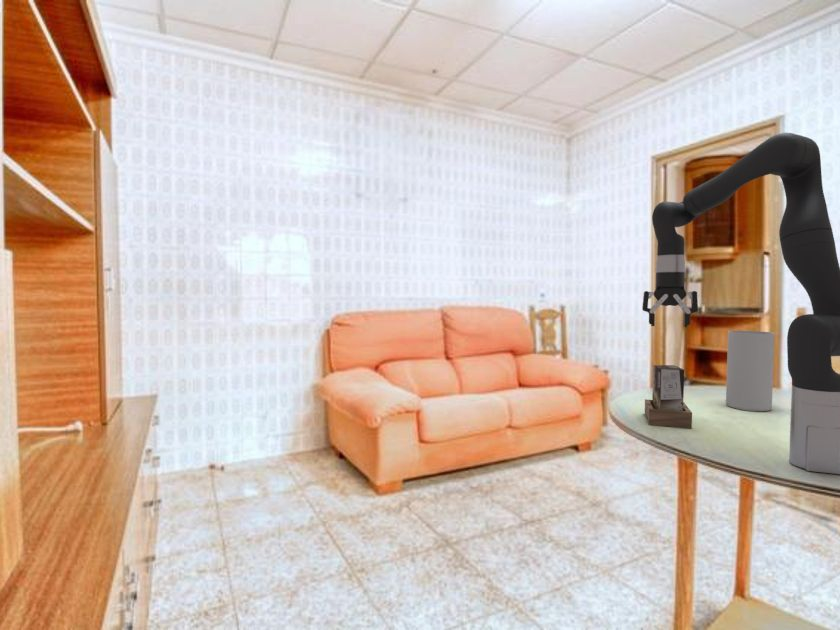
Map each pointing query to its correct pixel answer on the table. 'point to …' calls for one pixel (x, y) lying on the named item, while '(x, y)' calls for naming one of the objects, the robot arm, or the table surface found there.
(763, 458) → the table surface
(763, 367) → the cylinder vase
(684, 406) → the brown wooden tray
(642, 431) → the table surface
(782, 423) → the table surface
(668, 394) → the coffee box
